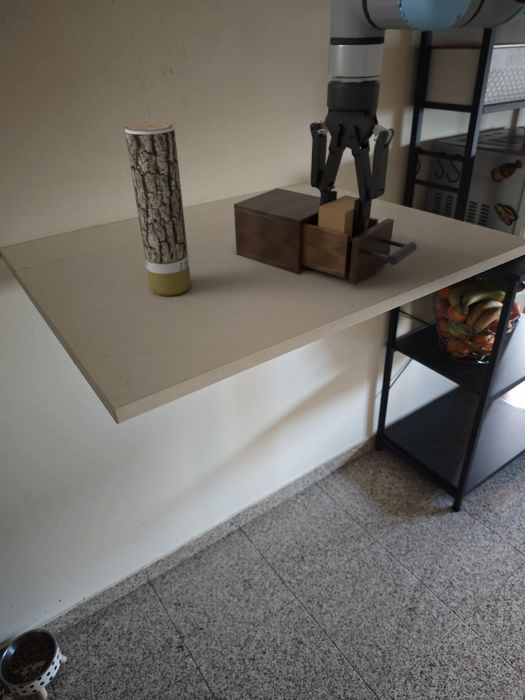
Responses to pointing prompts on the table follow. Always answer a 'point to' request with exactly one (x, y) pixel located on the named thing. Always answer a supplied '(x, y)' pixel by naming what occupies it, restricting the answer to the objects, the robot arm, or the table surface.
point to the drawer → (351, 249)
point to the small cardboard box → (339, 215)
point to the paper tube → (159, 205)
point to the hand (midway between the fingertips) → (342, 234)
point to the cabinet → (274, 227)
